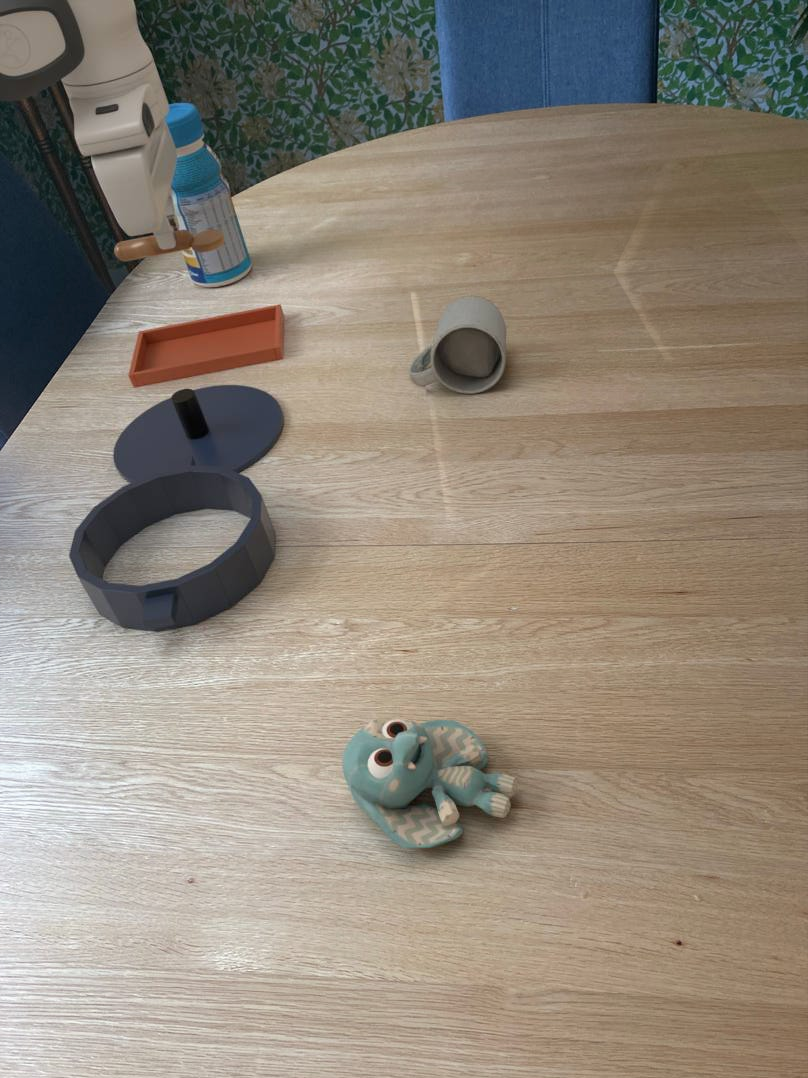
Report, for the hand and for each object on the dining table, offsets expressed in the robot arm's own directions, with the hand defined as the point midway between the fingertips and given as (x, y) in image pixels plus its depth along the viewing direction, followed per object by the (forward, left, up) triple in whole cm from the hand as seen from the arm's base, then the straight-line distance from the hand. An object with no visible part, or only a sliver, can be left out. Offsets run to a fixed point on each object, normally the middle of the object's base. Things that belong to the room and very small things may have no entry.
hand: (170, 239), depth 108 cm
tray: (0, 0, -14) cm, 14 cm away
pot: (0, -38, -14) cm, 40 cm away
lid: (0, -18, -13) cm, 22 cm away
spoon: (0, 0, -1) cm, 1 cm away
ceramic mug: (+28, -15, -14) cm, 35 cm away
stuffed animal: (+20, -68, -14) cm, 72 cm away
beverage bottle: (0, +21, -14) cm, 25 cm away
